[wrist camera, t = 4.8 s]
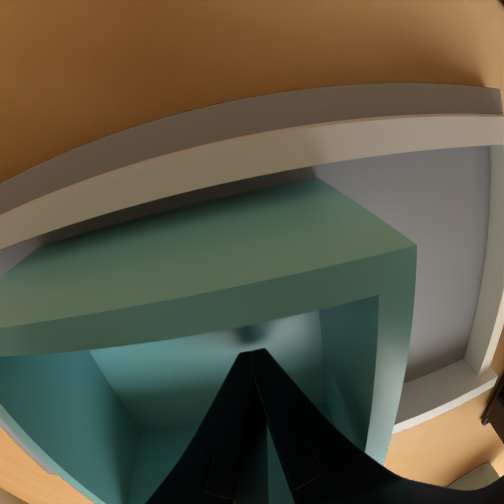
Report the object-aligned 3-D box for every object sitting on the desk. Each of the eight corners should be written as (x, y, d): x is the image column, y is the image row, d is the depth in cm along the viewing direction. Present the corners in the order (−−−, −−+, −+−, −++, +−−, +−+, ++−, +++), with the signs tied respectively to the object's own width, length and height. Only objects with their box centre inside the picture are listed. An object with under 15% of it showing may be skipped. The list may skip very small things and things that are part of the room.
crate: (318, 178, 8) (417, 244, 4) (337, 397, 12) (372, 496, 7) (37, 247, 8) (-59, 335, 4) (137, 426, 12) (119, 520, 7)
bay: (486, 88, 8) (559, 92, 5) (463, 366, 14) (496, 411, 10) (-46, 212, 8) (-105, 245, 5) (83, 439, 14) (68, 490, 10)
